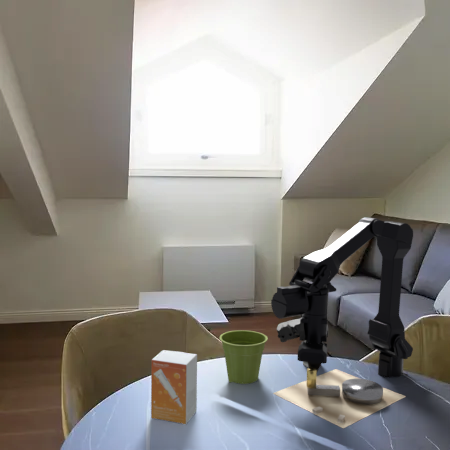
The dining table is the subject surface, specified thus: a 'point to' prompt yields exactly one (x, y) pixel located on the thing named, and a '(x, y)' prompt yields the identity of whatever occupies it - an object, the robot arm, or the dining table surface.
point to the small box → (174, 386)
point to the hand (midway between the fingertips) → (312, 376)
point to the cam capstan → (347, 389)
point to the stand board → (335, 400)
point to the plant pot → (243, 354)
